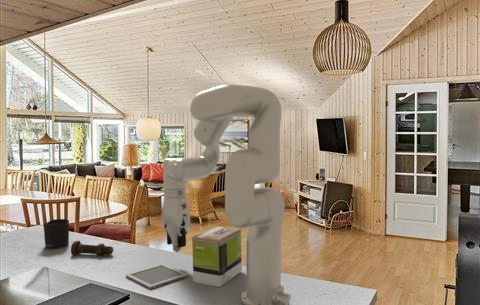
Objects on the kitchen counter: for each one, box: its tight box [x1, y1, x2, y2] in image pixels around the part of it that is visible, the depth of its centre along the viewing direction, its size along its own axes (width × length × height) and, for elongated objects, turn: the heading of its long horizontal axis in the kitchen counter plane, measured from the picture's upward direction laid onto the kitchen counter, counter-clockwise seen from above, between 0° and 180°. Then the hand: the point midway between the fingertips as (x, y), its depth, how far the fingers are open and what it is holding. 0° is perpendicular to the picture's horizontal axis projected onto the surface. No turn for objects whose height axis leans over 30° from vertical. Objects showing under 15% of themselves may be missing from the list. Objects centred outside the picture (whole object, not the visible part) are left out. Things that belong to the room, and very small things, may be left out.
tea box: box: [191, 225, 243, 288], centre depth 128 cm, size 15×10×15 cm, turn 152°
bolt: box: [70, 240, 114, 258], centre depth 151 cm, size 6×5×15 cm
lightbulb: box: [167, 224, 183, 253], centre depth 139 cm, size 6×6×11 cm
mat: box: [125, 263, 188, 290], centre depth 129 cm, size 14×14×1 cm
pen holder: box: [43, 218, 70, 250], centre depth 162 cm, size 9×9×10 cm
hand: (176, 244), depth 139 cm, fingers closed on lightbulb, 5 cm apart
